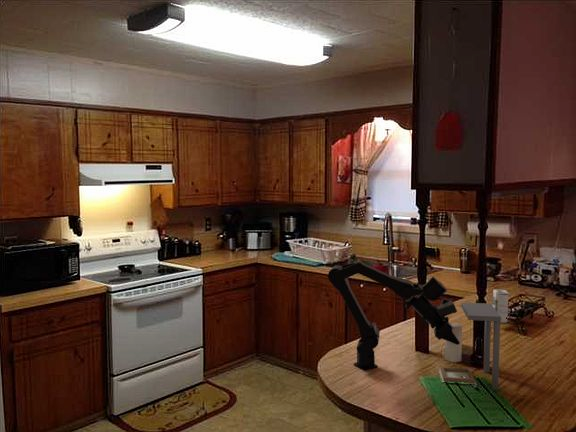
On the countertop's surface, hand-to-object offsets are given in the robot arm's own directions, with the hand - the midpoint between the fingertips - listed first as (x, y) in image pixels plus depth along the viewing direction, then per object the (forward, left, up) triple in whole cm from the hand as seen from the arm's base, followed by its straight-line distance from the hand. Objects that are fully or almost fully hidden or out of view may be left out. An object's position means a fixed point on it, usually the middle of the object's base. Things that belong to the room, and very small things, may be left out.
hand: (457, 341), depth 180 cm
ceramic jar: (-1, -1, -7) cm, 7 cm away
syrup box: (-32, +64, -12) cm, 73 cm away
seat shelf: (+5, -1, -11) cm, 13 cm away
